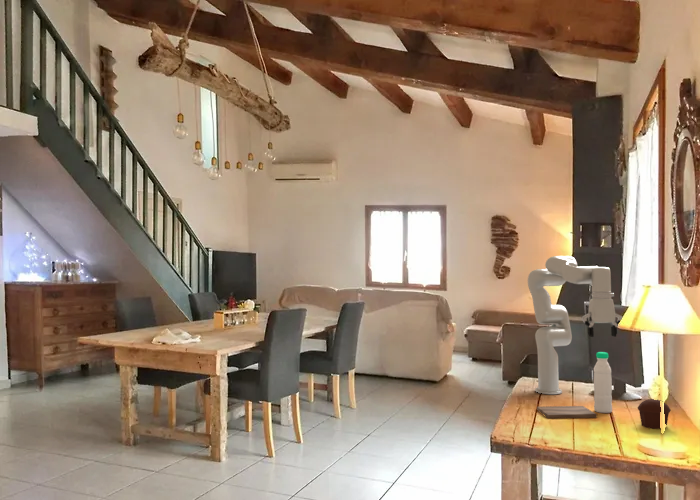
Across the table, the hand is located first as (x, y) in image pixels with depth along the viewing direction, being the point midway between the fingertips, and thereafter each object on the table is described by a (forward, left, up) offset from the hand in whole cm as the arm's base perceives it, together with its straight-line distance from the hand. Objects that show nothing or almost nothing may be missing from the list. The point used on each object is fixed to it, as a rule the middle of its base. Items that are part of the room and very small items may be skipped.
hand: (602, 336), depth 261 cm
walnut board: (+3, -17, -32) cm, 36 cm away
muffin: (+23, +10, -32) cm, 41 cm away
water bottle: (0, 0, -32) cm, 32 cm away
